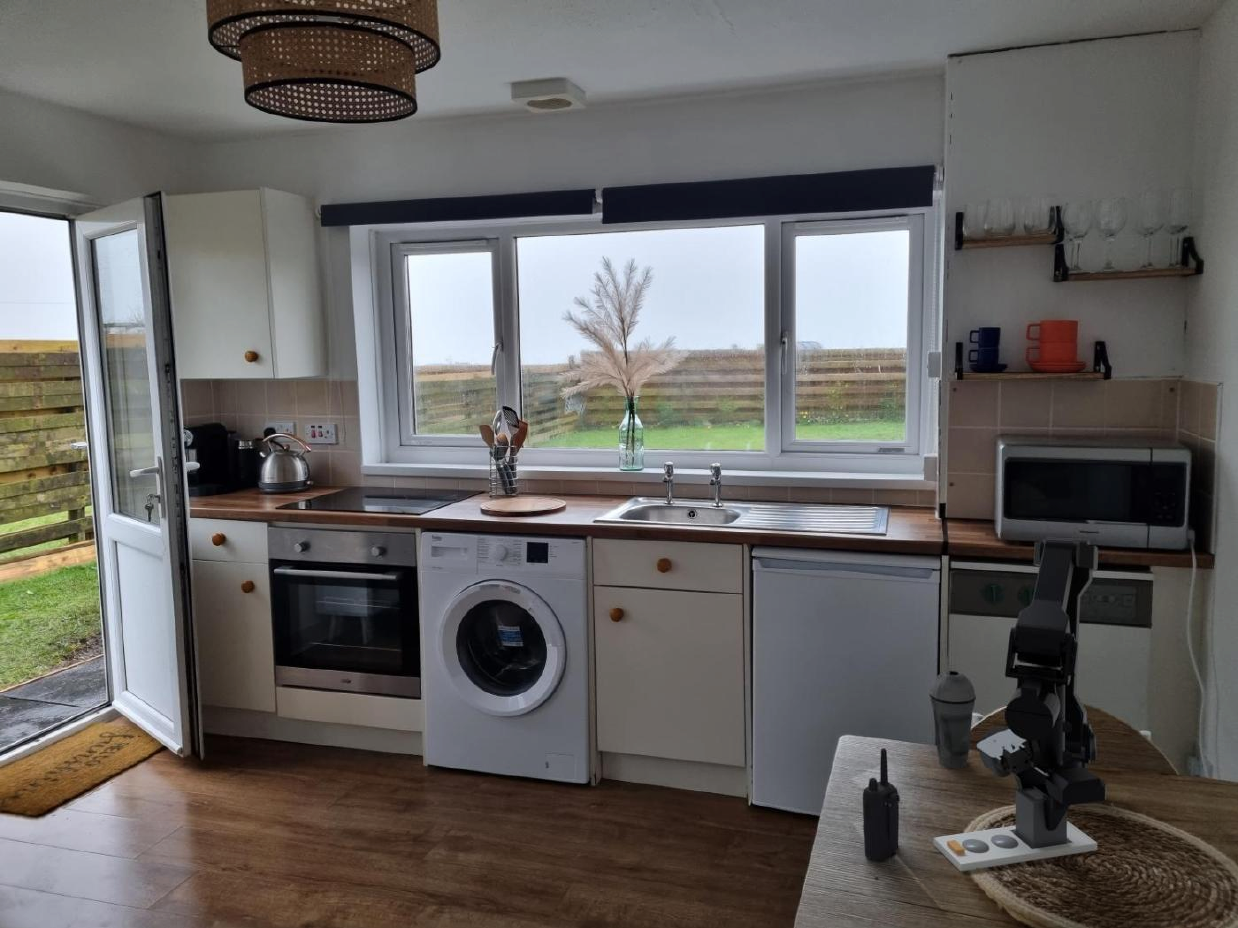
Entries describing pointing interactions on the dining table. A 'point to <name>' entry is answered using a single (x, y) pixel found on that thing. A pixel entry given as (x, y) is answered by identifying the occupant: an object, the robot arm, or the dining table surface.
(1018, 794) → the block
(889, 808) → the two-way radio
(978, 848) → the power strip
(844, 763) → the dining table surface
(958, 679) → the beverage cup
